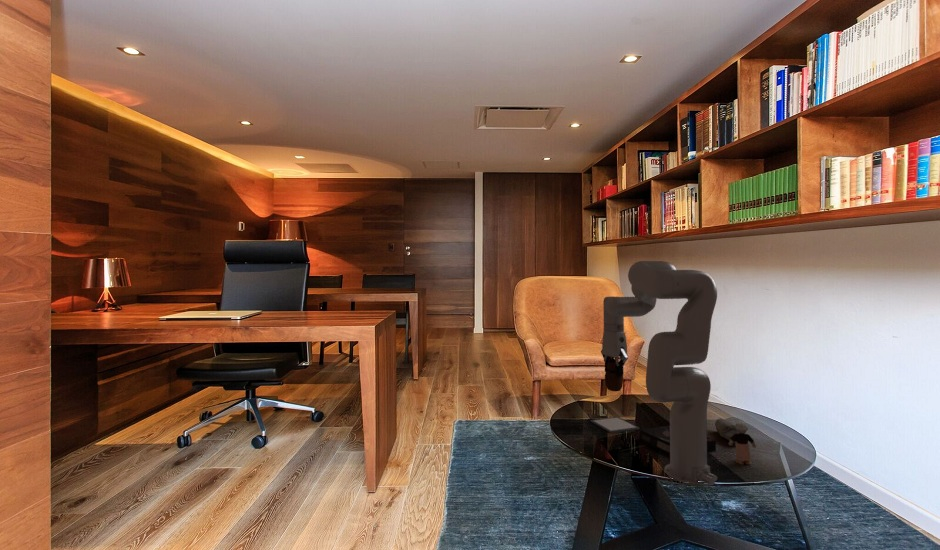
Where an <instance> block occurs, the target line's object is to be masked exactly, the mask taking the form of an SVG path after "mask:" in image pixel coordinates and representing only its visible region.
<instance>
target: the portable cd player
mask: <svg viewBox="0 0 940 550" xmlns="http://www.w3.org/2000/svg"><path fill="white" fill-rule="evenodd" d="M639 430H640V431H639V437H638V438H639V441H641V442H643V443H645V444H647V445H649V446H651V447H653V448H655V449H657V450H659V451H661V452H663V453H665V454H667V455H669V456H670V424H669V425H663V426H656V427H652V428H651V427H650V428H643V429H639ZM716 443H717V441H716V440H715V439H713V438H712V437H711V438H710V437H708V436H707V454H708V452H709V453H712V452H713V451H714V452H716V451H717V444H716Z"/></svg>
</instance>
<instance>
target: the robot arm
mask: <svg viewBox="0 0 940 550" xmlns="http://www.w3.org/2000/svg"><path fill="white" fill-rule="evenodd" d="M627 277H628V281H629V283H630V285H631V288H630V289H631V292H632V294H633V296H606V297H603V301H602V302H603V303H602V304H603V332H602V341H601V343H602V344H601V350H600V353H601V355H602V358H603V362H604V373H606V372H607V371H609V370H608V369H607V364H608V362H609V357H611V359H612V357H613V358H615V360H616V364H617V366H615V369H616V376H623V377H624V366H625V364H626V362H627V361H628V360H629V356H628V345H627V344H628V343H627V337H626V332H625V326H624V325H625V320H624V319H625V318H628V317H630V318H631V317H634V318H636V317H637V318H638V317H639V318H640V317H643V316H646V315H647V314H649V313H650V312H651V311H653V310H654V308H655V307H656V304H657V300H658V299H659V300H683V299H685V300H687V301H686V302H685V303H684V305H683V306H682V307H681V309H680V310H679V312H678V315H677V318H676V319H677V320H676V328H675V330H674V331H661V332H657V333H655V334H654V335H653V336H652V338H650V341H649V344H648V348H647V349H648V351H647V360H646V371H645V372H646V373H645V388H646V392H647V394H648V396H649V397H650V399H652V400H653V401H655V402H659V403H673V404H672V406H671V408H670V412H669V425H670V455H669V458H670V459H669V460H670V461H669V462H670V463H668V464H666V465H665V466H664V474H665V473H666V474H667V475H668V476H669V477H671V478H673V479H674V480H673V481H675V482H677V481H681V482H689V483H681V482H678V483H679V484H683V485H686V486H692V487H707V486H714V484H715V483H716V481H717V480H718V476H717V475H716V474H713V473H711V466H710V465H708V453H707V437H708V432H707V431H708V430H707V428H708V420H707V419H708V403H709V399H710V394H711V389H712V388H711V387H712V385H711V381H710V377H709V376H708V374H707V373H706V372H705V371H704V370H702V369H701V368H698V367H694V366H692V365H699V364H702V363H704V362H705V361H706V359H707V357H708V354H709V346H710V339H711V338H710V336H711V330H712V329H711V328H712V318H713V314H714V311H715V307H716V304H717V299H718V288H717V284H716V282H715V280H714V278H713V277H712V276H711V275H710V274H708V273H707V272H705V271H701V270H697V269H677V268H676V267H675V265H673V264H672V263H671V262H668V261H665V260H664V261H663V260H640V261H635V262H634V263H632V265H631V266H630V268H629V270H628V272H627ZM608 356H609V357H608ZM689 365H690V366H689ZM675 366H676V367H675ZM666 474H665V475H666ZM667 475H666V476H667ZM668 476H667V477H668ZM669 477H668V478H669ZM671 478H670V479H671ZM698 481H705V482H698ZM704 483H708V484H704Z"/></svg>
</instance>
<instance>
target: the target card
mask: <svg viewBox="0 0 940 550" xmlns="http://www.w3.org/2000/svg"><path fill="white" fill-rule="evenodd" d="M589 421H590V423H592V424H593V425H595V426H597V427H599V428H601V429H602V430H604V431H605V432H607V433H610V434H613V433H620V432H629V431H636V430H641V429H640V427H639V426H638V425H635V424H633V423H631V422H629V421H627V420H625V419H623V418H620V417H619V416H614V417H606V418H598V419H597V418H596V419H591V420H589Z"/></svg>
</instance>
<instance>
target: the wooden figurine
mask: <svg viewBox="0 0 940 550" xmlns="http://www.w3.org/2000/svg"><path fill="white" fill-rule="evenodd" d="M608 357H609V356H608ZM615 366H617V364H616V360H615V358H613V357H612V359H611V357H609V362H608V364H607V369H608V370H609V371H607V372H604V383H605V387H606V389H607V390H608V391H610V392H619V391H621V390H622V388H623V385H624V375H623V376H616V369H615Z"/></svg>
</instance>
